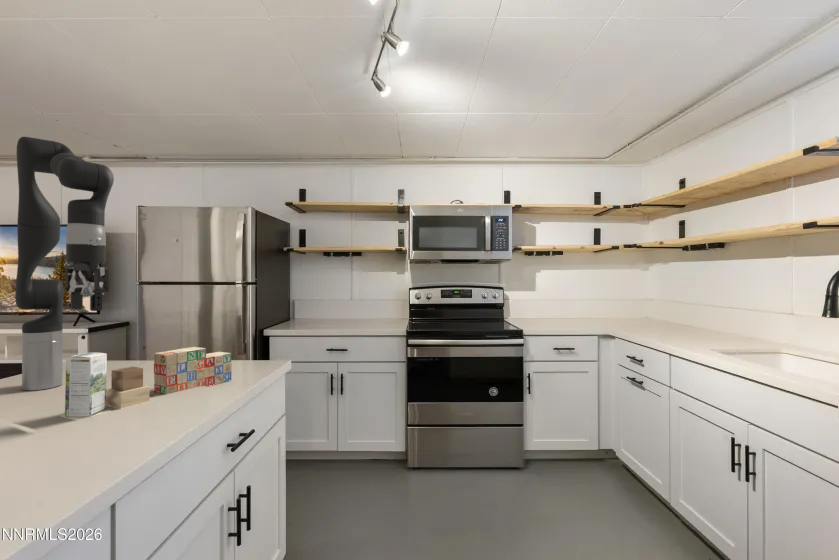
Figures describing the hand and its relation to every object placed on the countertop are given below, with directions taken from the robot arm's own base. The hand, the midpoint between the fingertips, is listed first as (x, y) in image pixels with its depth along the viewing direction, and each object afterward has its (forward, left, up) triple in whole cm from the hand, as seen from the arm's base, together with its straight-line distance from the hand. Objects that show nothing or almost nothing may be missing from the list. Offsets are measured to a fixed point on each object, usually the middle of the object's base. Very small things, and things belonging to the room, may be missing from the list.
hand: (86, 310), depth 100 cm
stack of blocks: (-1, +30, -26) cm, 40 cm away
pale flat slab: (-3, +5, -26) cm, 27 cm away
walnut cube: (0, +9, -21) cm, 23 cm away
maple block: (0, +9, -25) cm, 27 cm away
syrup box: (0, 0, -26) cm, 26 cm away
